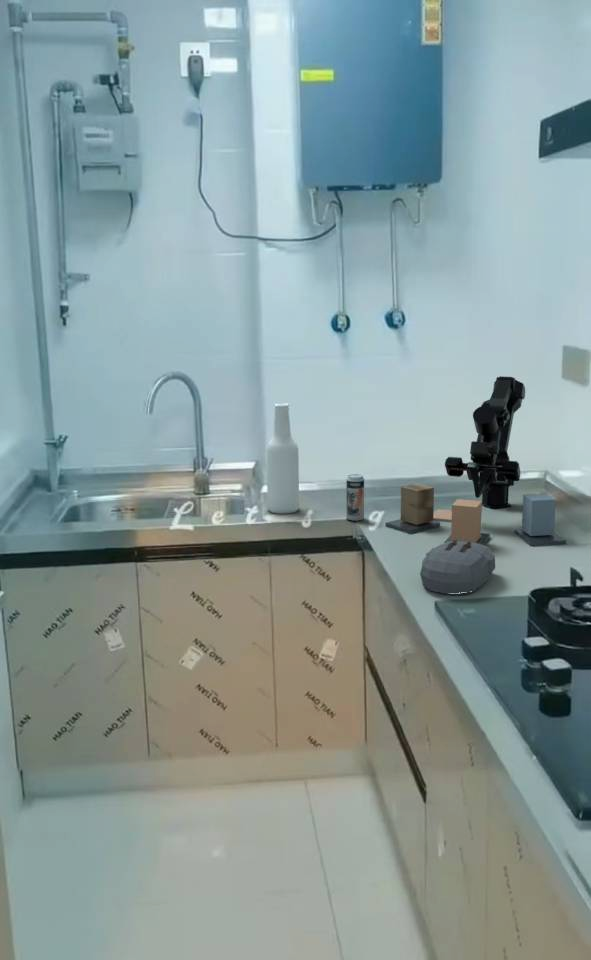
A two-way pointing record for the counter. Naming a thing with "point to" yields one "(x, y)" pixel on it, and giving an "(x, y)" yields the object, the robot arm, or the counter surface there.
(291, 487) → the alcohol
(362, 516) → the beer can
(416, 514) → the brown wooden block
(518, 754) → the counter surface
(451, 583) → the small grey backpack
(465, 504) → the tan block
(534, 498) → the blue-grey rectangular block
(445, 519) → the card
